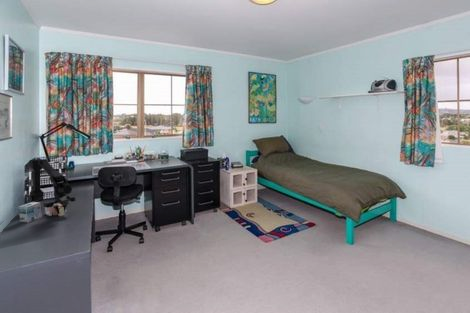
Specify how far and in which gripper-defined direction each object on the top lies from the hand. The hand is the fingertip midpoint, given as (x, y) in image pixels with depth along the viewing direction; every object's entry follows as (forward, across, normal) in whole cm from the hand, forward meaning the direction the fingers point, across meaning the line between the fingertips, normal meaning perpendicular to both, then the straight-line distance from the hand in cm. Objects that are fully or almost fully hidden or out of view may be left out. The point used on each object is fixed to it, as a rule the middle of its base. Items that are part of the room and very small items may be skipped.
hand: (61, 213), depth 190 cm
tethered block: (+2, 0, +4) cm, 4 cm away
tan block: (+2, 0, +8) cm, 8 cm away
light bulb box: (+2, -15, +10) cm, 18 cm away
